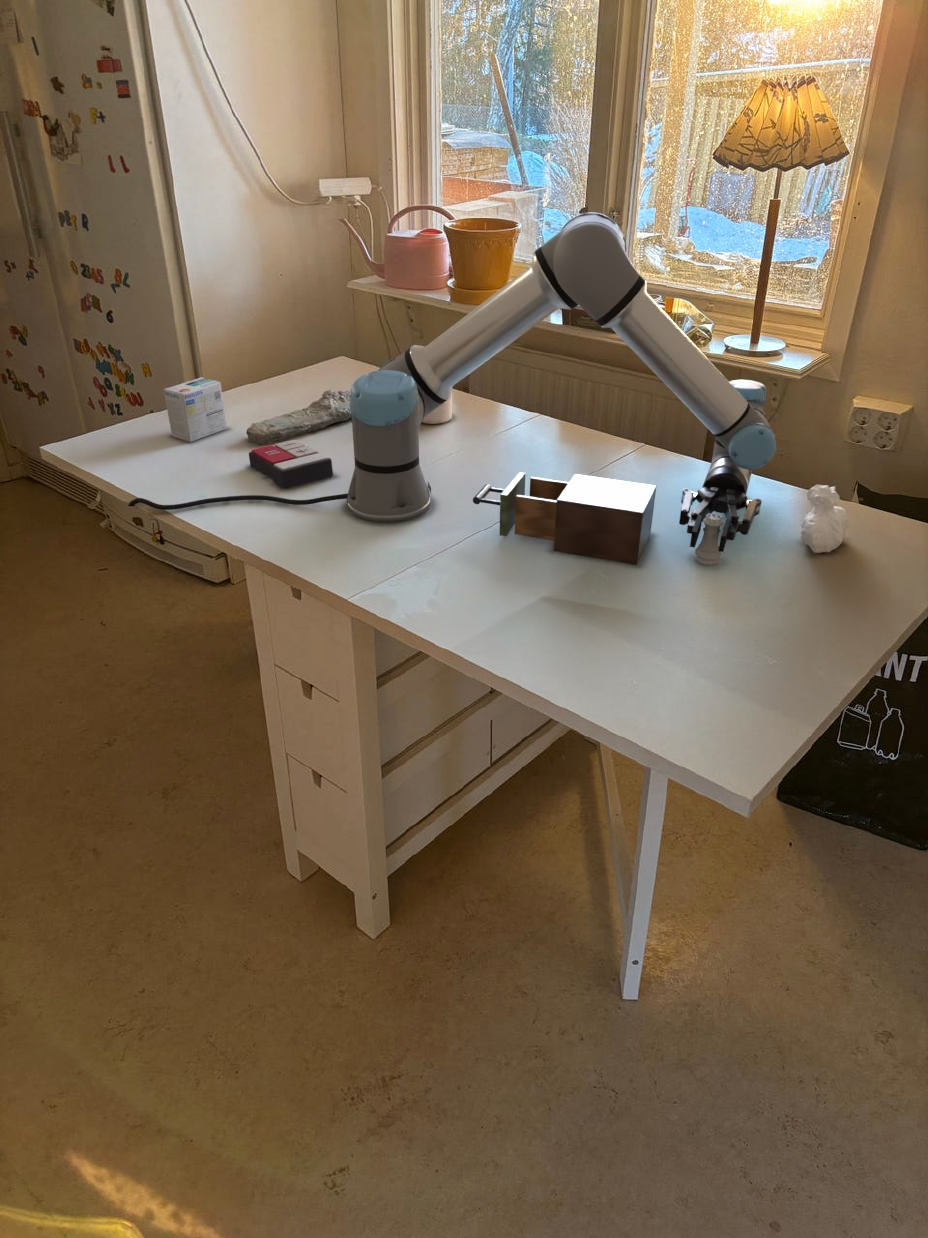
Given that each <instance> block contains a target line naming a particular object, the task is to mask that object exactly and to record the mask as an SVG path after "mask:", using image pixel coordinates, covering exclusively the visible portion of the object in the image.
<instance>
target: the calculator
mask: <svg viewBox="0 0 928 1238" xmlns="http://www.w3.org/2000/svg"><path fill="white" fill-rule="evenodd" d="M248 459H249V466H250V467H251V468H252V469H254V470H256V471H257V472H259V473H260V474H263V475H264V476H265V477H267V478H269V479H271V480H272V481H273V483H274V484H275V485H276V486H277V487H280V488H282V489H283V490H286V489H291V488H294V487H298V486H302V485H305V484H309V483H313V482H317V481H320V480H324V479H327V478H332V477H334V471H333V461H332V458H330V457H328V456H327V455H325V454H324V453H321V452H319V451H318V450H317V449H315V448H313V447H311V446H309V445H306V444H305V443H304V442H301V441H300V440H297V439H291V440H287V441H283V442H278V443H275V444H274V445H273V444H270V445H266V446H262V447H257V448H254V449H251V450H250V451H249V452H248Z"/></svg>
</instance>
